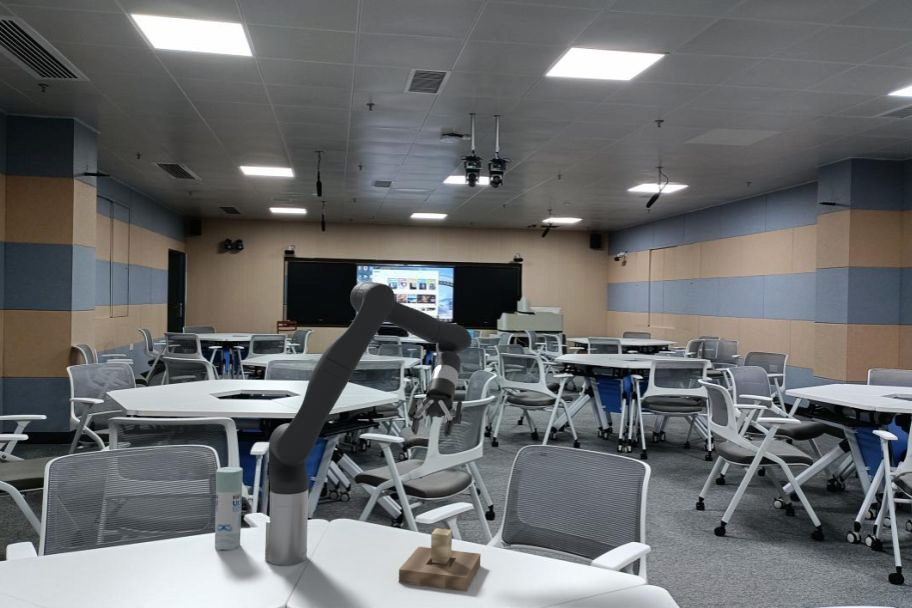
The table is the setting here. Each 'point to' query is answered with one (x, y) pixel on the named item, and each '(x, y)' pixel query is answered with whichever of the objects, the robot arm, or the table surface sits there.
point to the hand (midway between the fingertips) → (430, 434)
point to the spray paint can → (228, 508)
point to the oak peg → (441, 547)
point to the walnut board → (440, 570)
